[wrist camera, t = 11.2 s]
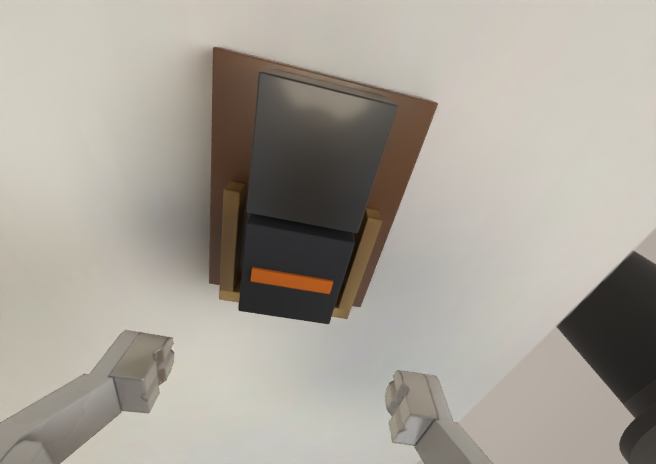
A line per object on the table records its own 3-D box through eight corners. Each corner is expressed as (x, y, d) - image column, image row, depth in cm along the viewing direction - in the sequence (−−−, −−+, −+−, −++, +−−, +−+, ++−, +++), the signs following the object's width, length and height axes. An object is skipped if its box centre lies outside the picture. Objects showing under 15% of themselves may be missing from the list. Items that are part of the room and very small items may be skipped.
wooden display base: (432, 100, 14) (466, 113, 11) (359, 297, 20) (365, 345, 17) (220, 47, 13) (181, 42, 9) (213, 273, 19) (189, 320, 16)
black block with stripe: (350, 213, 16) (355, 245, 13) (328, 288, 19) (329, 327, 16) (259, 195, 15) (244, 225, 13) (250, 275, 18) (236, 313, 15)
